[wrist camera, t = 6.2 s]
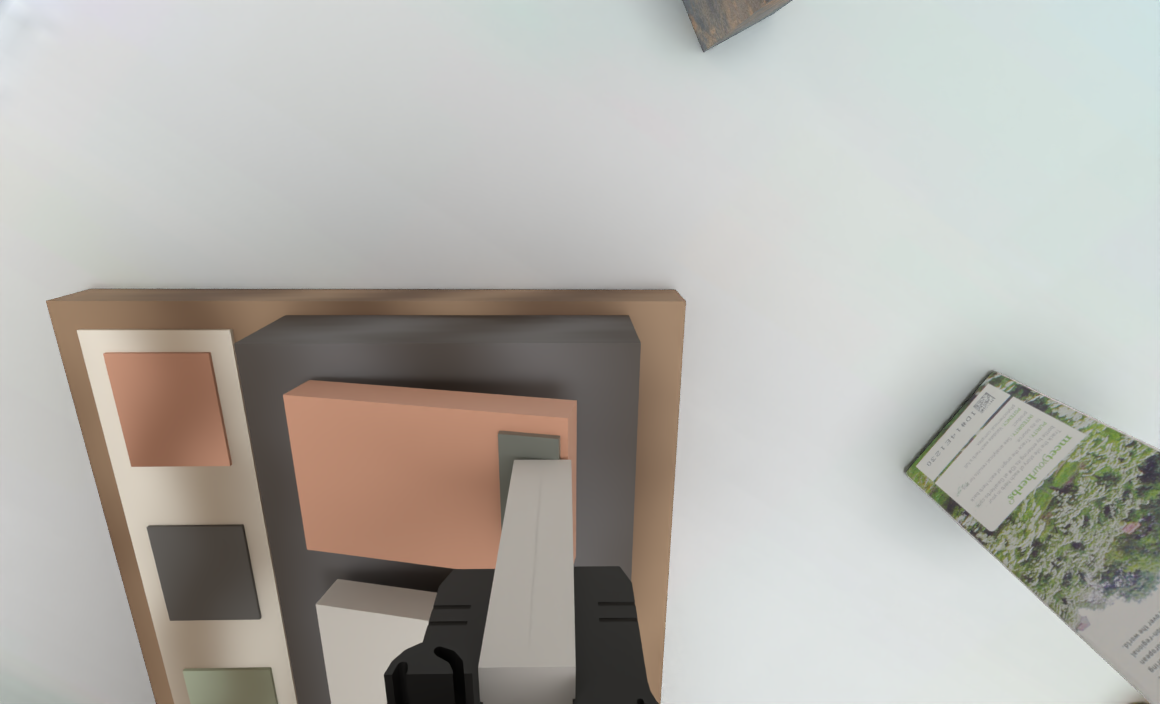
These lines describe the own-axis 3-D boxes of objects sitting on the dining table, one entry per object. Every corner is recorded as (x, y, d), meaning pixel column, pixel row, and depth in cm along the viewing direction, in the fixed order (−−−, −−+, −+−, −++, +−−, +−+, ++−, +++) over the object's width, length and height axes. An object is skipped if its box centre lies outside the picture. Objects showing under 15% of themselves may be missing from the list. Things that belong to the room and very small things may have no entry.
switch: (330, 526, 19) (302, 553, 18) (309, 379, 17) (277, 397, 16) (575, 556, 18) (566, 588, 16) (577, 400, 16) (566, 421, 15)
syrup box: (994, 530, 27) (1461, 927, 13) (895, 470, 26) (1289, 834, 12) (1087, 431, 25) (1725, 756, 11) (987, 363, 24) (1557, 632, 10)
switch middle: (353, 696, 21) (331, 731, 20) (337, 578, 20) (311, 608, 18) (574, 734, 20) (566, 775, 18) (575, 611, 18) (566, 646, 17)
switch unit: (200, 733, 29) (109, 877, 23) (90, 288, 22) (-78, 333, 16) (650, 724, 30) (671, 862, 24) (675, 289, 23) (714, 333, 17)
